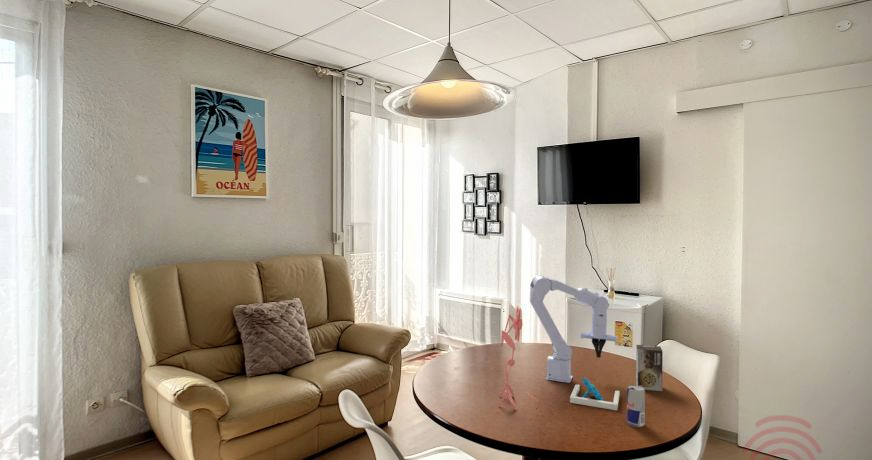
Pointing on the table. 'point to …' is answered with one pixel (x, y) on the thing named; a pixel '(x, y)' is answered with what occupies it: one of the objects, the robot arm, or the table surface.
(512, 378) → the table surface
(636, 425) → the energy drink
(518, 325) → the figurine
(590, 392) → the gear
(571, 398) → the bracket
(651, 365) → the coffee box
